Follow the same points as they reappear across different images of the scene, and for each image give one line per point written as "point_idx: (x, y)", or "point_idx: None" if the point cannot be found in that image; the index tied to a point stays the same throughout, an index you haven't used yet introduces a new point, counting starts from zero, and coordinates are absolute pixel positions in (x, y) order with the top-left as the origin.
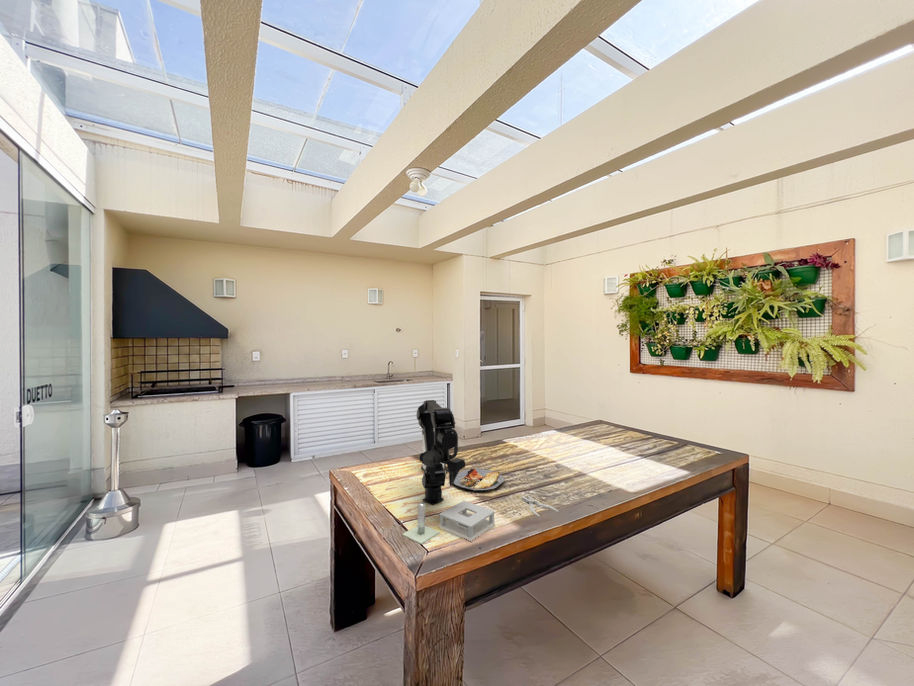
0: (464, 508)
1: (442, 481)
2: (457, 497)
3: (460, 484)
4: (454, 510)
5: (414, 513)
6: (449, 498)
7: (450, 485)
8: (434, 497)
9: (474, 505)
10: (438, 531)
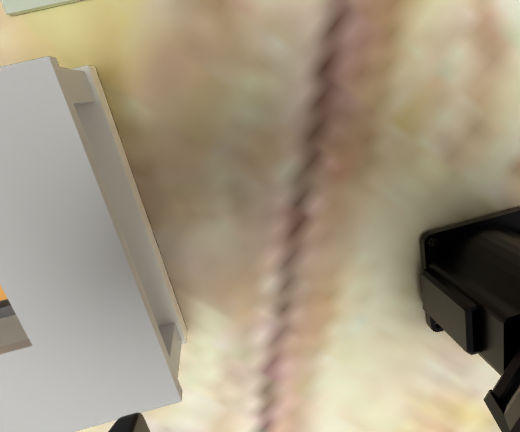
0: (29, 330)
1: (509, 419)
2: (394, 405)
3: None
4: (37, 234)
5: (420, 43)
6: (418, 363)
7: (110, 429)
8: (462, 271)
9: (42, 423)
10: (22, 10)
